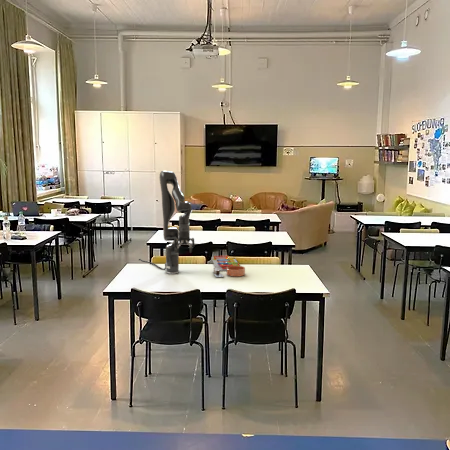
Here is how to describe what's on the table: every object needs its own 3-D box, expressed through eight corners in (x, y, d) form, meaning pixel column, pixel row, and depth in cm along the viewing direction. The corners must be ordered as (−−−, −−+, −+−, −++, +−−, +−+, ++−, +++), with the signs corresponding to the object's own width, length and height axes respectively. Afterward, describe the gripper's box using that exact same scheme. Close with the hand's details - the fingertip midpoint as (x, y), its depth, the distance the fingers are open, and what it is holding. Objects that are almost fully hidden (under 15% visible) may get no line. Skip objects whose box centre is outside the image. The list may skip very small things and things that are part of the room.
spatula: (211, 272, 332) (211, 267, 332) (218, 271, 333) (218, 267, 333) (216, 278, 316) (216, 273, 315) (223, 277, 317) (223, 273, 316)
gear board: (242, 267, 337) (217, 268, 334) (242, 270, 337) (217, 271, 335) (233, 254, 381) (211, 255, 378) (233, 257, 381) (211, 258, 379)
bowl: (224, 272, 330) (224, 266, 329) (242, 271, 333) (242, 265, 332) (229, 277, 317) (229, 270, 316) (247, 276, 320) (247, 269, 319)
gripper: (193, 229, 320) (193, 251, 323) (173, 229, 317) (173, 252, 320) (195, 230, 313) (195, 253, 315) (174, 231, 310) (174, 254, 312)
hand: (184, 252), depth 318 cm, fingers open, 8 cm apart
